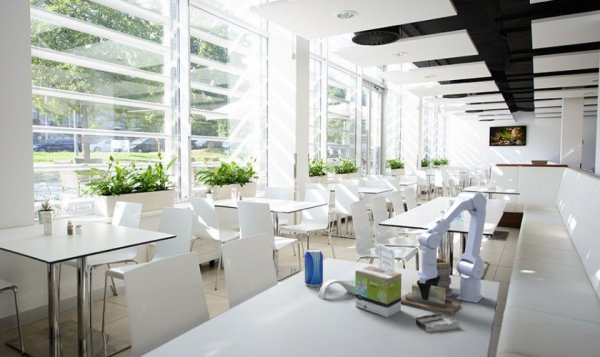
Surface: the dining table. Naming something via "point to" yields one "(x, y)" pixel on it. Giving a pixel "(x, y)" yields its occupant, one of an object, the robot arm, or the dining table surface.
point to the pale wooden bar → (430, 293)
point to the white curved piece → (347, 284)
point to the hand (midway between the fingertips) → (428, 296)
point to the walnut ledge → (430, 304)
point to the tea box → (378, 290)
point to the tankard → (444, 274)
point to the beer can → (313, 268)
